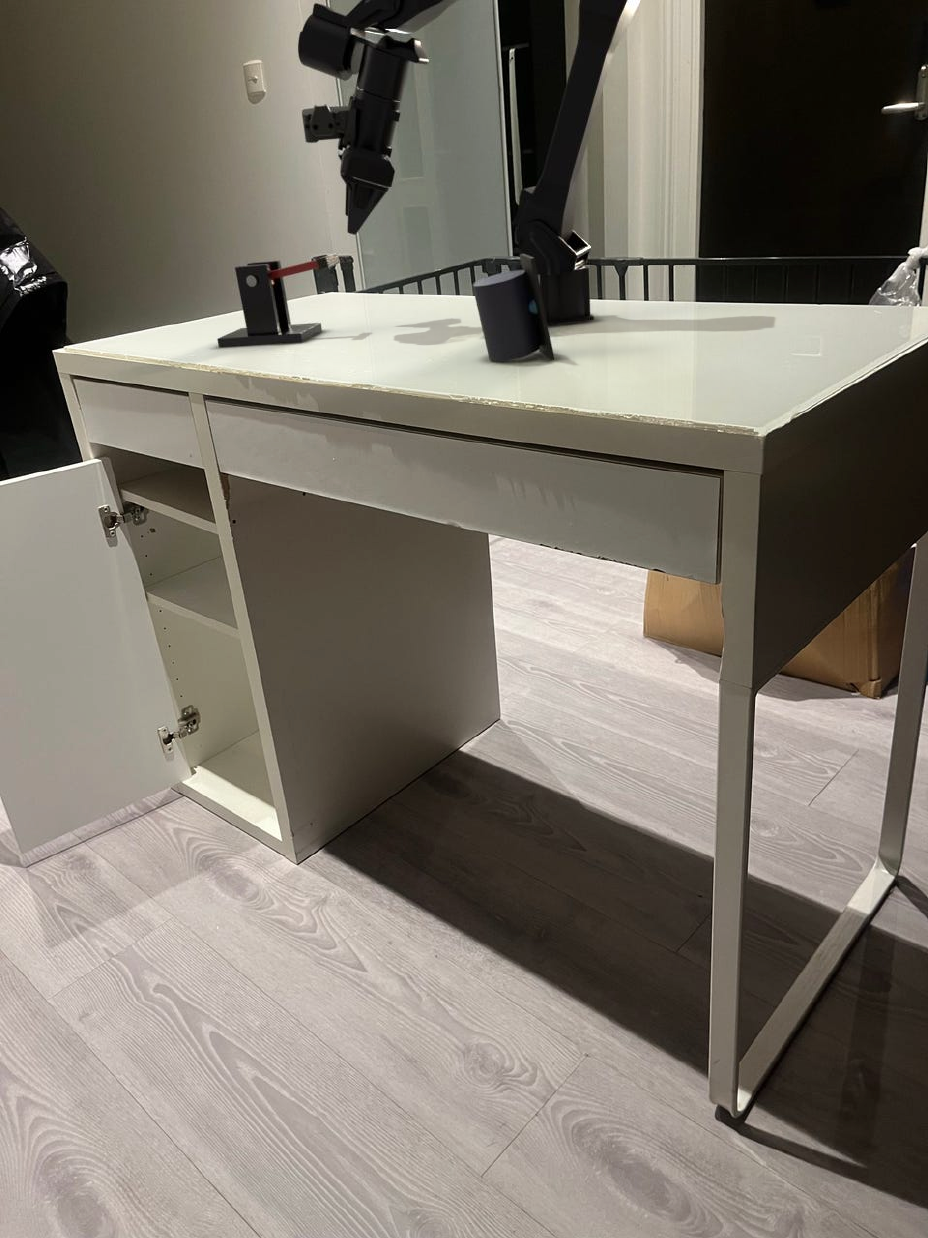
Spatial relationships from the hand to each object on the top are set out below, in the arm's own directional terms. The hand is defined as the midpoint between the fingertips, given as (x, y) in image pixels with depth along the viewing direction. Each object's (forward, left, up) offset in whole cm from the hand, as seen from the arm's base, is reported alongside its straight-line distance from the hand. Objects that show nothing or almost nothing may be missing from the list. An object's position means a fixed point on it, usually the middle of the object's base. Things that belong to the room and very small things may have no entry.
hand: (350, 224), depth 121 cm
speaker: (-15, +32, -14) cm, 38 cm away
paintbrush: (+8, +1, -6) cm, 10 cm away
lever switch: (+13, -1, -13) cm, 18 cm away
